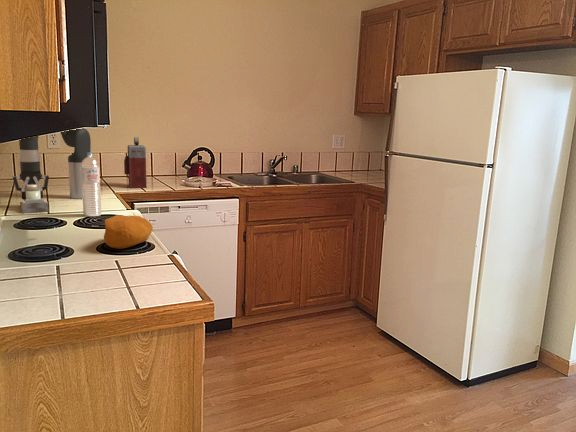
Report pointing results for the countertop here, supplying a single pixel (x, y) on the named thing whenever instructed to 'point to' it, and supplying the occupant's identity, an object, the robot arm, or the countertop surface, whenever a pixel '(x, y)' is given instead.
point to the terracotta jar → (30, 186)
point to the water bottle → (91, 186)
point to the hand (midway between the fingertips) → (32, 199)
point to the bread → (126, 231)
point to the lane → (34, 207)
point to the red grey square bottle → (136, 165)
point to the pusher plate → (34, 200)
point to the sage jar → (33, 193)
